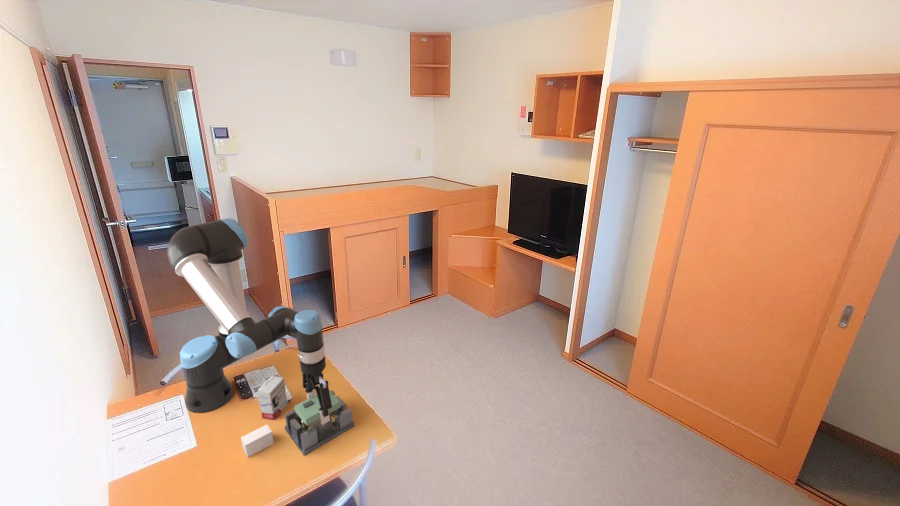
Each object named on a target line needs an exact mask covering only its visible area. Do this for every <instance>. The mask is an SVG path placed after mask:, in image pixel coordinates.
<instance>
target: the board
mask: <svg viewBox="0 0 900 506" xmlns="http://www.w3.org/2000/svg"><path fill="white" fill-rule="evenodd" d="M329 393H330V399H331V404H332V408H330V409H329V413H331V412H333V411H335V410H337V409H338V408H340V407H341V403H340V400H339V399H338V398H337V395H336V394H335V395H334V394H333V393H332V392H331V390H330V389H329ZM319 408H320V404H319V400H318V397H317V394H316V396H314V397H312V398H310V399H305V400H303V401H302V402H299V403H297V404H296V405H294V409H295V412H296V413H297V414H298V416H299V417H300V418H301V419H302V421H303V422H304V423H305V424H306V426H307V425H309V424H311V423H312V422H314V421H316V420H318V419H320V411H319Z"/></svg>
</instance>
